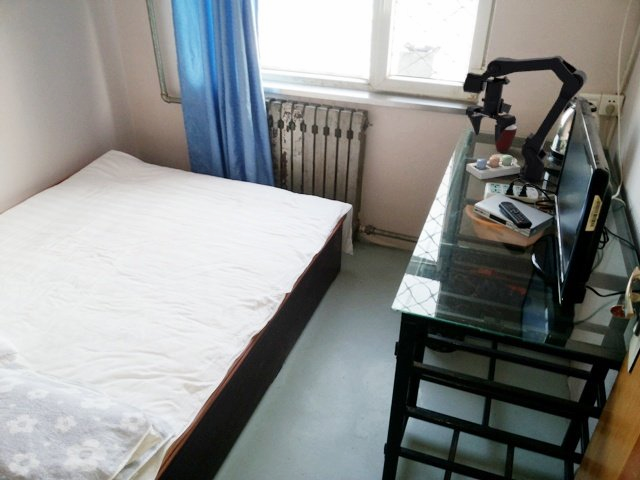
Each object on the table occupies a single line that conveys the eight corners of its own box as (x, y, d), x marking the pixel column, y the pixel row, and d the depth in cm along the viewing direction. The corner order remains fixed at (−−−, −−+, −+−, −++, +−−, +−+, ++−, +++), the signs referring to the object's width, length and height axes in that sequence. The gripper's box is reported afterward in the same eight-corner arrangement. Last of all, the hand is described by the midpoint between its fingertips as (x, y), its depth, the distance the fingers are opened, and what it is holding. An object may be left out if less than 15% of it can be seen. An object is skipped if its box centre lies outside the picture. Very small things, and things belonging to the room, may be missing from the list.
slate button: (487, 169, 189) (489, 161, 187) (479, 170, 188) (480, 162, 186) (482, 165, 192) (483, 158, 190) (473, 166, 190) (475, 159, 189)
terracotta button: (500, 167, 190) (502, 159, 189) (492, 168, 189) (493, 160, 188) (494, 163, 193) (496, 156, 192) (486, 164, 192) (487, 157, 191)
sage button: (513, 165, 192) (514, 157, 190) (504, 166, 191) (506, 158, 189) (507, 161, 195) (508, 154, 193) (498, 163, 194) (500, 155, 192)
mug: (492, 144, 217) (496, 120, 212) (512, 146, 215) (517, 122, 210) (491, 152, 209) (495, 128, 204) (512, 155, 206) (516, 130, 201)
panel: (519, 172, 191) (520, 166, 190) (480, 179, 186) (481, 173, 185) (504, 164, 198) (505, 158, 197) (466, 170, 193) (467, 163, 192)
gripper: (530, 97, 178) (522, 141, 186) (488, 86, 192) (482, 127, 200) (508, 103, 173) (500, 147, 181) (467, 91, 187) (461, 133, 195)
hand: (486, 138), depth 189 cm, fingers open, 9 cm apart
